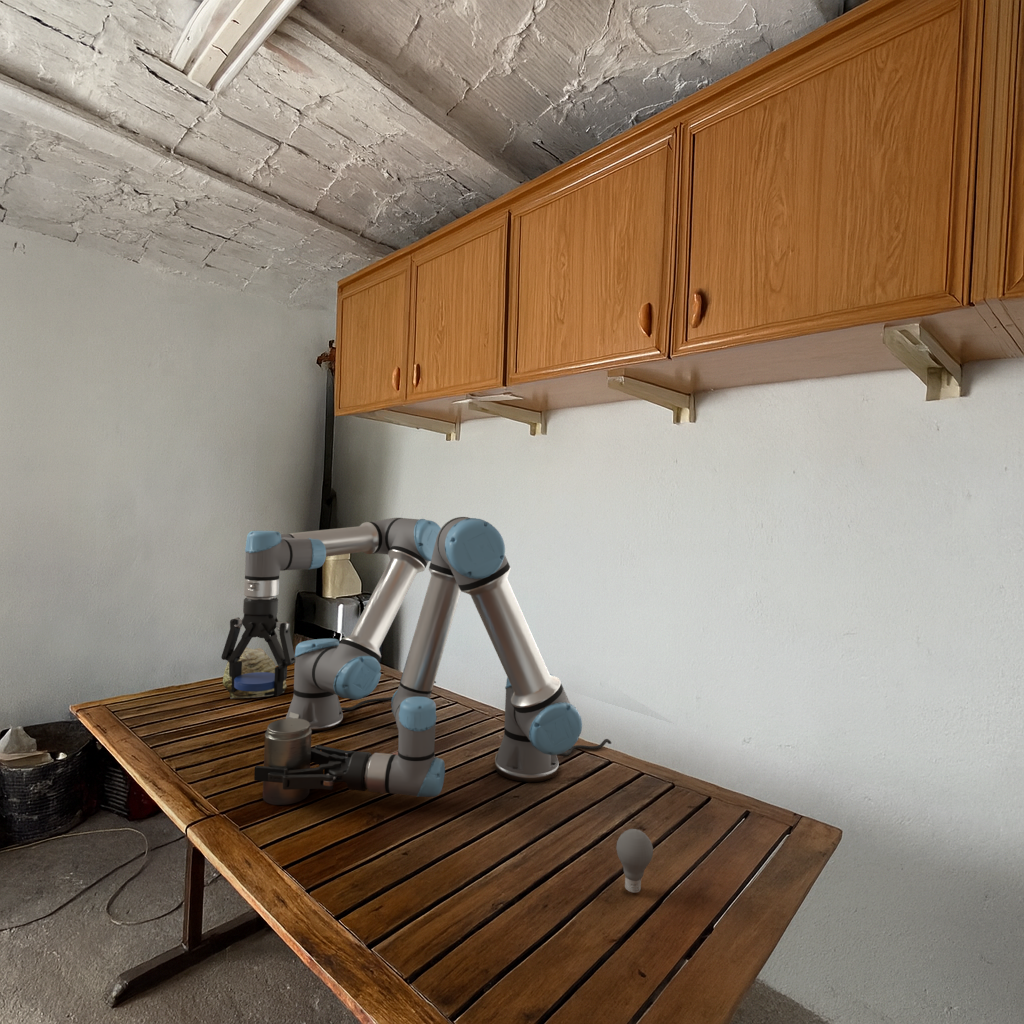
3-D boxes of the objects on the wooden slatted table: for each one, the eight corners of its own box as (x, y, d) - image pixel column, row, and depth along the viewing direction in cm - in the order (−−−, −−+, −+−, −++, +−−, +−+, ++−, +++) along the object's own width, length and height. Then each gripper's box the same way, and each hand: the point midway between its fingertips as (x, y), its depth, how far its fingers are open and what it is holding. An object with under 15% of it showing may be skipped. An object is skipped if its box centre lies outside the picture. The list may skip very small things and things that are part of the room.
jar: (259, 806, 129) (261, 734, 128) (266, 786, 138) (268, 718, 137) (307, 803, 131) (309, 732, 130) (311, 783, 140) (313, 716, 139)
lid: (285, 680, 153) (286, 673, 153) (271, 692, 143) (271, 684, 143) (244, 678, 152) (244, 671, 152) (226, 690, 142) (227, 683, 142)
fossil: (218, 695, 195) (220, 647, 195) (278, 685, 208) (279, 640, 207) (228, 703, 189) (230, 653, 188) (289, 692, 201) (290, 645, 201)
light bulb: (610, 879, 108) (613, 822, 108) (644, 879, 109) (647, 822, 109) (619, 902, 102) (622, 840, 102) (655, 901, 103) (658, 840, 103)
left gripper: (206, 596, 145) (202, 692, 146) (298, 602, 142) (294, 701, 142) (226, 591, 153) (222, 683, 153) (314, 598, 149) (309, 692, 150)
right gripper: (350, 815, 121) (239, 805, 124) (384, 767, 143) (289, 759, 145) (352, 776, 121) (240, 766, 123) (386, 734, 143) (290, 727, 145)
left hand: (257, 692), depth 148 cm, fingers closed on lid, 10 cm apart
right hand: (267, 762), depth 134 cm, fingers closed on jar, 9 cm apart
